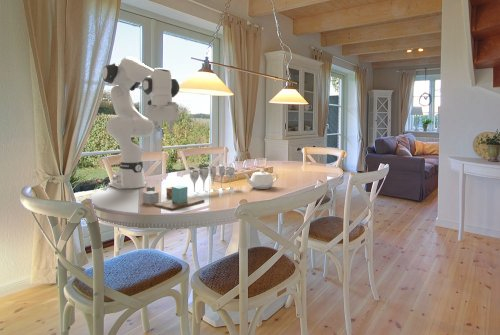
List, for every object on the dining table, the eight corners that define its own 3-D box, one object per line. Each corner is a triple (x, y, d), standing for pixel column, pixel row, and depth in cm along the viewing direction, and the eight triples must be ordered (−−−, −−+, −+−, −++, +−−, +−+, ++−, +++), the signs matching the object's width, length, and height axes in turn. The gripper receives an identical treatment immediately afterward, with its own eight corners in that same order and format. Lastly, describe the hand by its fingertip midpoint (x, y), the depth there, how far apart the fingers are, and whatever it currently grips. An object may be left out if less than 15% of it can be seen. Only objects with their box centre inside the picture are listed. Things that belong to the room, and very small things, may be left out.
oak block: (166, 198, 173) (166, 188, 172) (173, 196, 177) (172, 186, 176) (174, 199, 171) (174, 189, 170) (180, 197, 175) (180, 187, 174)
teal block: (171, 201, 161) (171, 187, 160) (180, 199, 165) (179, 185, 164) (179, 203, 158) (179, 188, 157) (187, 201, 162) (187, 186, 161)
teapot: (272, 184, 213) (272, 167, 211) (282, 188, 200) (283, 170, 198) (238, 186, 204) (238, 168, 203) (247, 191, 192) (247, 172, 190)
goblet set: (193, 194, 181) (192, 169, 179) (187, 192, 185) (187, 168, 183) (237, 188, 198) (237, 165, 196) (231, 187, 202) (231, 164, 200)
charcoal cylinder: (144, 197, 173) (144, 187, 172) (151, 195, 176) (151, 186, 175) (150, 198, 171) (149, 188, 170) (156, 197, 174) (156, 187, 173)
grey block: (143, 203, 162) (142, 192, 161) (151, 201, 166) (151, 190, 165) (150, 204, 159) (149, 194, 158) (158, 202, 163) (158, 192, 162)
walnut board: (154, 205, 157) (154, 203, 157) (186, 198, 173) (186, 196, 173) (172, 210, 150) (172, 208, 150) (204, 201, 166) (204, 199, 166)
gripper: (182, 102, 166) (182, 131, 168) (154, 102, 178) (155, 129, 180) (172, 101, 161) (172, 131, 163) (144, 101, 173) (144, 129, 175)
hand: (163, 130), depth 172 cm, fingers open, 8 cm apart
